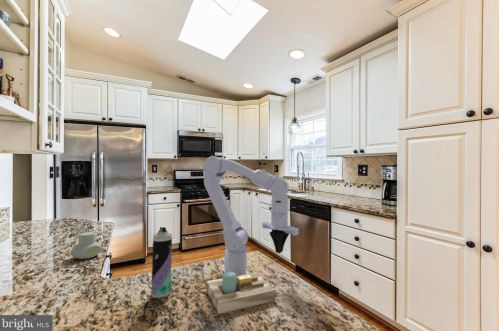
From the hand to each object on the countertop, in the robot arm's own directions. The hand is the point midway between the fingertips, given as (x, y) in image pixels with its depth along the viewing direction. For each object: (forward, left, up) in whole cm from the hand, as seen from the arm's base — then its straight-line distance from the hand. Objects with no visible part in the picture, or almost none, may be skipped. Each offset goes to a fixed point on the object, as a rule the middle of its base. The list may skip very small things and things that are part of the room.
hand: (279, 252), depth 81 cm
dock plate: (+5, -17, -9) cm, 19 cm away
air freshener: (-51, -66, -10) cm, 84 cm away
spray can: (-6, -38, -10) cm, 40 cm away
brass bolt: (+5, -15, -6) cm, 17 cm away
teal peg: (+5, -20, -9) cm, 23 cm away
